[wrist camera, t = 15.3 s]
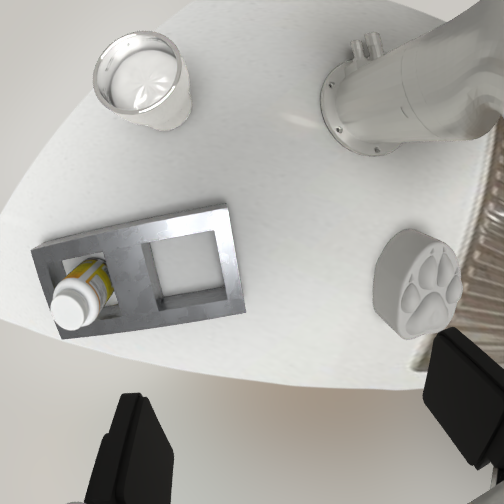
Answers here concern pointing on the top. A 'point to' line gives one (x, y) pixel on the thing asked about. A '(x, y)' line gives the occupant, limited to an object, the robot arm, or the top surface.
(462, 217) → the top surface
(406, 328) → the lumpy-topped squat cylinder
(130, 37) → the beer glass
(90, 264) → the supplement bottle
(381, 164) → the top surface
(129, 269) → the cinder block
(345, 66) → the robot arm
